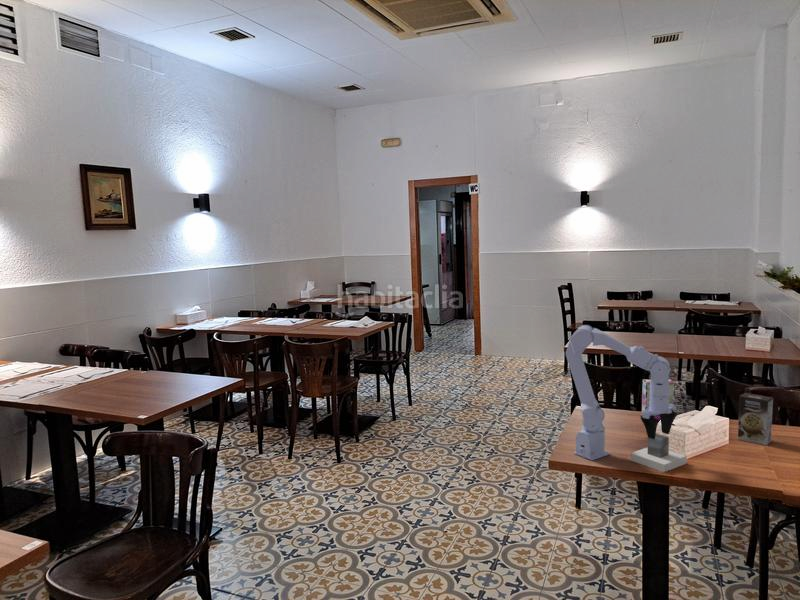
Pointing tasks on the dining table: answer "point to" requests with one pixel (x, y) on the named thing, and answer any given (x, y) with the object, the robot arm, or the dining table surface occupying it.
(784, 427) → the dining table surface
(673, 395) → the candy bar box
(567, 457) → the dining table surface
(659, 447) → the grey block
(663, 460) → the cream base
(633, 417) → the dining table surface
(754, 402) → the coffee box
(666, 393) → the robot arm
